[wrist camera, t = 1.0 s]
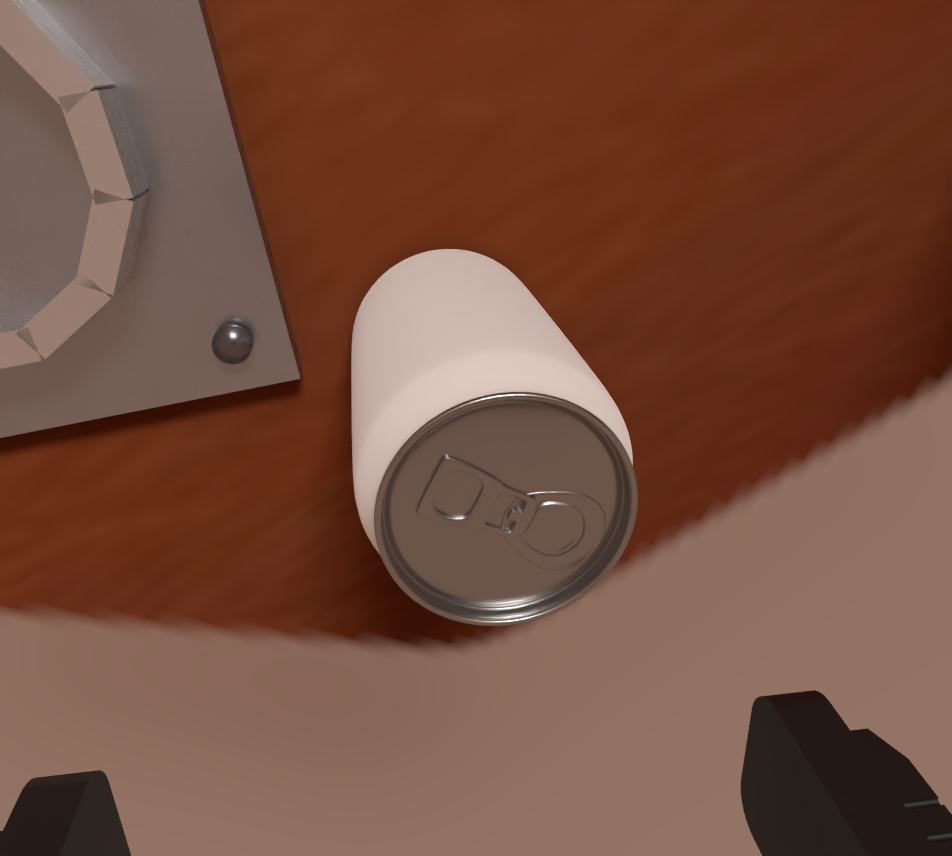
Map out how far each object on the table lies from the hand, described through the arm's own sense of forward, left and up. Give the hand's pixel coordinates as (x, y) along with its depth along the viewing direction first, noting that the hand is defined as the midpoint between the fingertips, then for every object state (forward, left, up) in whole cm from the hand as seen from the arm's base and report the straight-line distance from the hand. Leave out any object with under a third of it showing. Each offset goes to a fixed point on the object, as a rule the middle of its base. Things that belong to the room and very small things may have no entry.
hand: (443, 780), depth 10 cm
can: (-2, +1, -19) cm, 19 cm away
